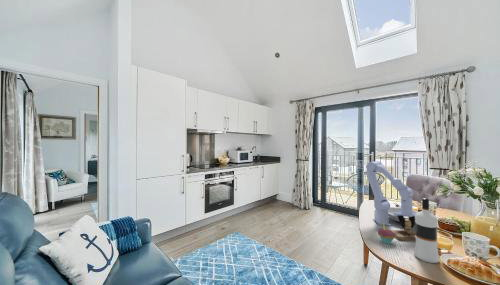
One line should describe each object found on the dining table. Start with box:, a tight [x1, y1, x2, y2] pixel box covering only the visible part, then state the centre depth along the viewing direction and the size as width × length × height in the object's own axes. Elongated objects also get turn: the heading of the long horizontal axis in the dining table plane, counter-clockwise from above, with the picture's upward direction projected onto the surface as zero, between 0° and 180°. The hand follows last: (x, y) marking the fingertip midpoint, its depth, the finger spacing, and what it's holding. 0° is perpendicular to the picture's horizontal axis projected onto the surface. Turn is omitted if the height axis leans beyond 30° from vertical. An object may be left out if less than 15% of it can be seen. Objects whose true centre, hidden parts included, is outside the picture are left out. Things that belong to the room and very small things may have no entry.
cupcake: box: [377, 222, 396, 245], centre depth 113 cm, size 9×8×12 cm
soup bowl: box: [388, 206, 419, 223], centre depth 142 cm, size 24×24×7 cm
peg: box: [403, 219, 412, 231], centre depth 126 cm, size 4×4×7 cm
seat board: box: [390, 229, 416, 242], centre depth 118 cm, size 9×18×2 cm, turn 81°
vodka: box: [413, 197, 440, 264], centre depth 97 cm, size 9×9×30 cm
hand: (407, 227), depth 126 cm, fingers closed on peg, 4 cm apart
